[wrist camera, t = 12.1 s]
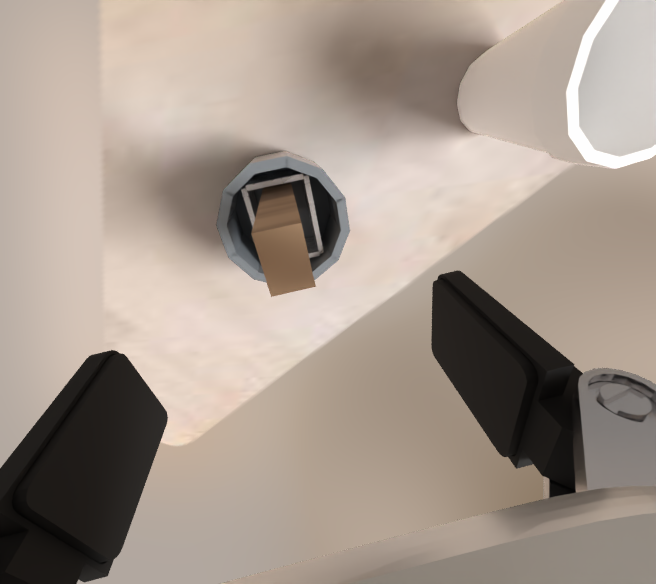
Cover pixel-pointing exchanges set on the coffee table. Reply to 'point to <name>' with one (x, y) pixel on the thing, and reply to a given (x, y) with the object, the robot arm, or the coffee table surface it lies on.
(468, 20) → the coffee table surface
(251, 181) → the grey hollow box
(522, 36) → the foam cup
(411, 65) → the coffee table surface
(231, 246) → the faceted hollow tube
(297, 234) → the brown wooden bar
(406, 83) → the coffee table surface
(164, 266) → the coffee table surface
